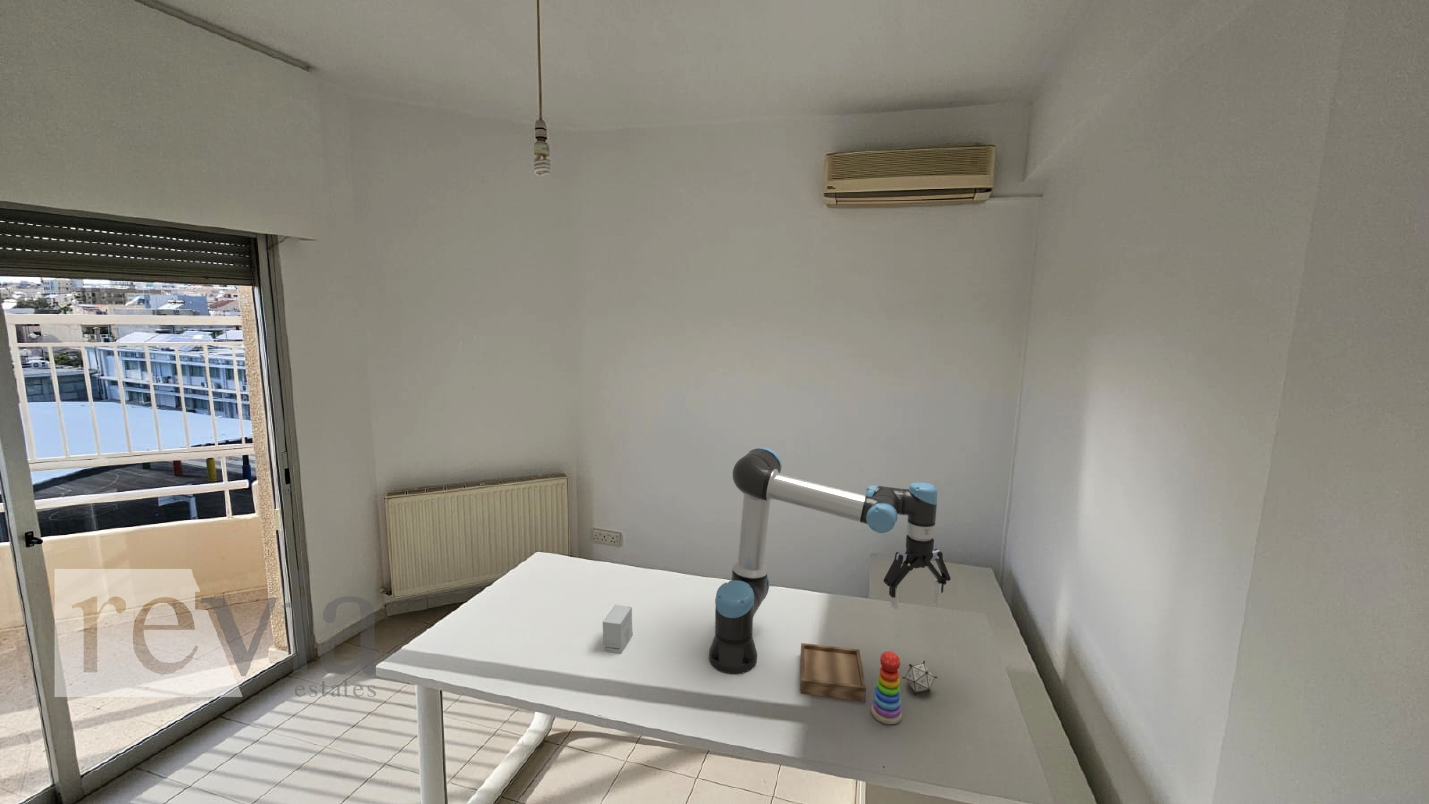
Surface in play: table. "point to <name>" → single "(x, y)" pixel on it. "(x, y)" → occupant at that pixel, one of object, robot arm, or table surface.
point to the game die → (919, 677)
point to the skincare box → (617, 629)
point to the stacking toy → (888, 691)
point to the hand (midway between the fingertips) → (915, 604)
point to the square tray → (832, 672)
